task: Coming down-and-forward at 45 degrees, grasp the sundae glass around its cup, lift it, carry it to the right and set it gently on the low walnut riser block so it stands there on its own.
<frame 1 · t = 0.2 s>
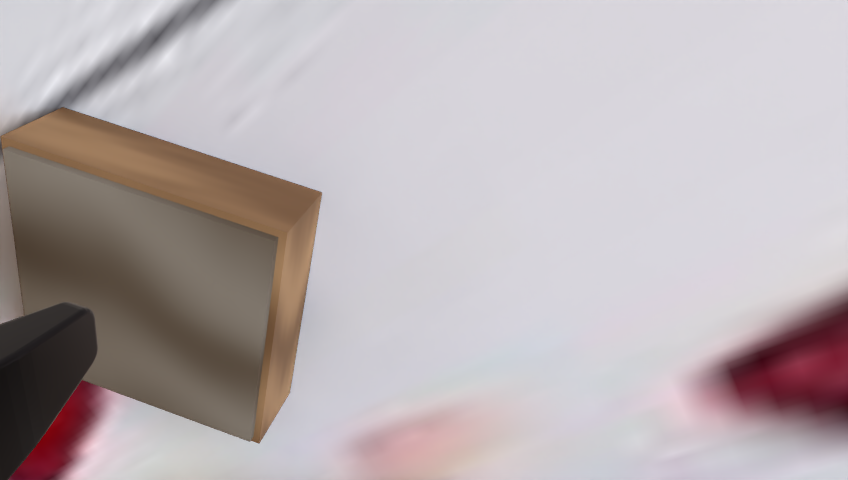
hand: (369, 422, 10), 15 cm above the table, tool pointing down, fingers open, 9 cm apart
walnut riser: (185, 262, 29), on the table
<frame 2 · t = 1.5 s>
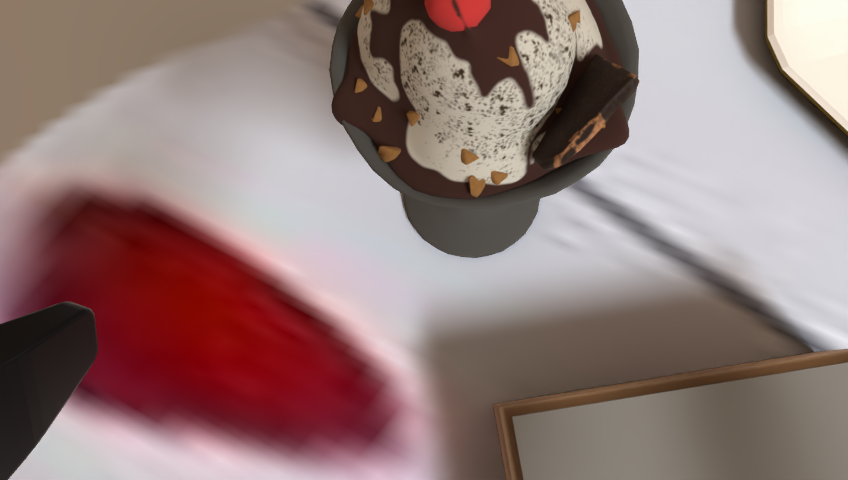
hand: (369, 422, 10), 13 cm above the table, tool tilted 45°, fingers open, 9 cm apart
sundae: (469, 192, 25), on the table
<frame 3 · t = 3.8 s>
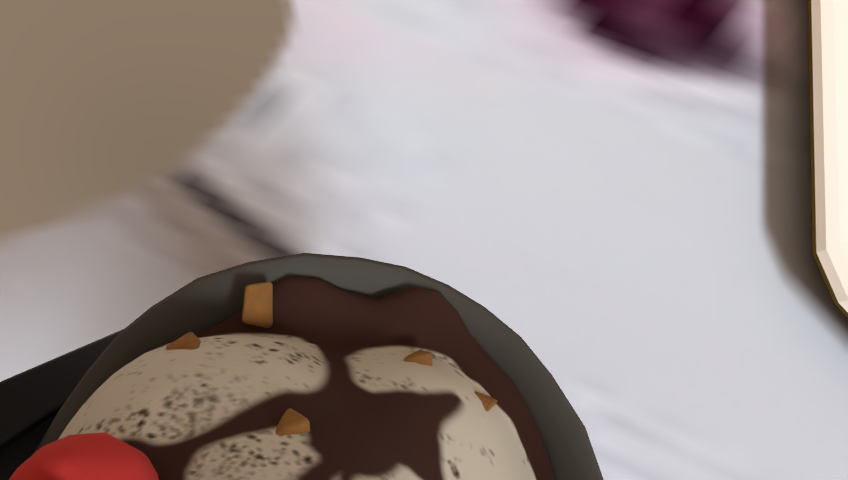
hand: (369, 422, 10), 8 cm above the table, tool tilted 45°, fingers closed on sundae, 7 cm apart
sundae: (387, 463, 17), on the table, touching gripper
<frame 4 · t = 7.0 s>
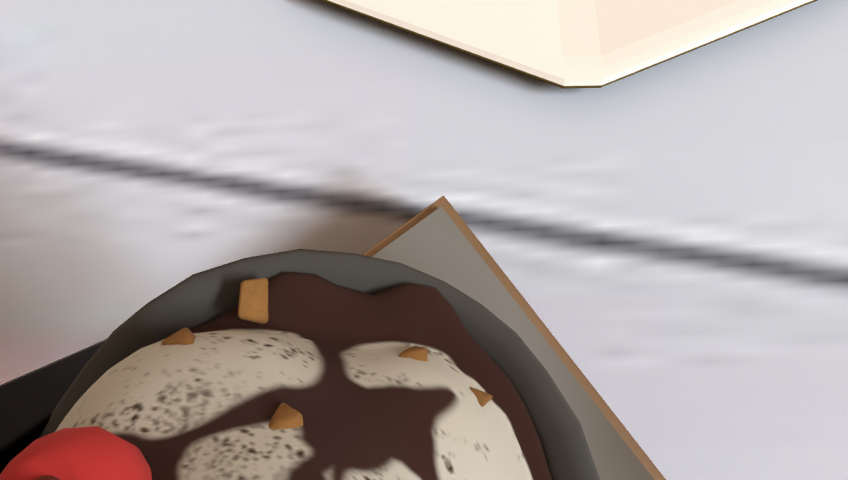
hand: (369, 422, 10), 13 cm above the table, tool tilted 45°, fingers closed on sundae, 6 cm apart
walnut riser: (412, 444, 22), on the table
sundae: (387, 461, 17), point 5 cm above the table, touching gripper
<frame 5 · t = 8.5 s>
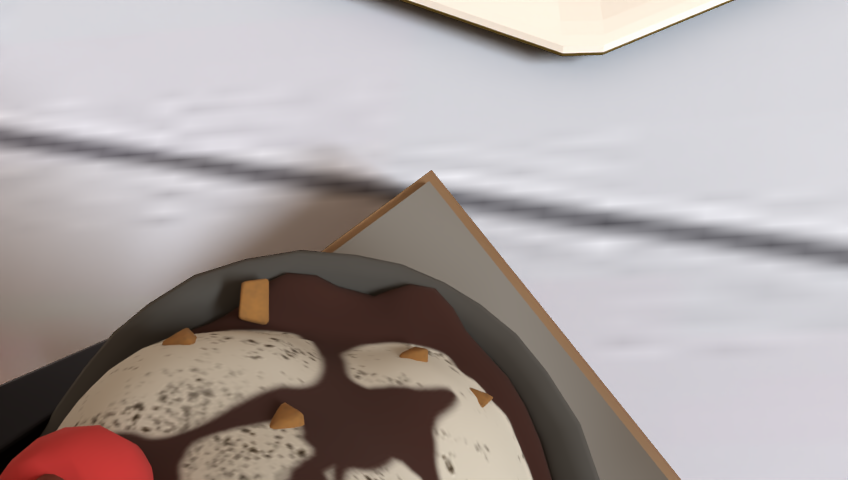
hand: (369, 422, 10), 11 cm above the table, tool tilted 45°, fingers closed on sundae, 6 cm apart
walnut riser: (400, 445, 20), on the table
sundae: (386, 465, 17), point 3 cm above the table, touching gripper, walnut riser
when the fingers open (11 cm above the table, at t = 9.7 s): sundae stays where it is, resting on walnut riser.
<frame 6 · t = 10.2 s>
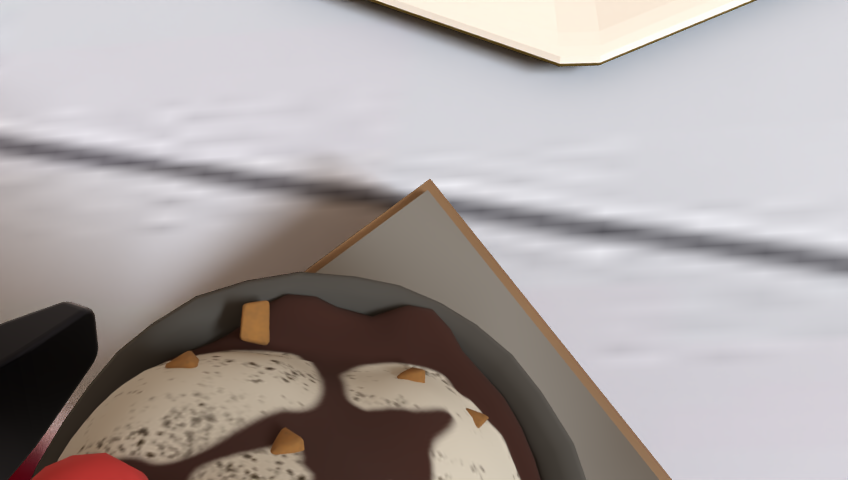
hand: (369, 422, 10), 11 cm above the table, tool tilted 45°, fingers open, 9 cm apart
walnut riser: (399, 451, 21), on the table
sundae: (385, 470, 17), point 3 cm above the table, touching walnut riser
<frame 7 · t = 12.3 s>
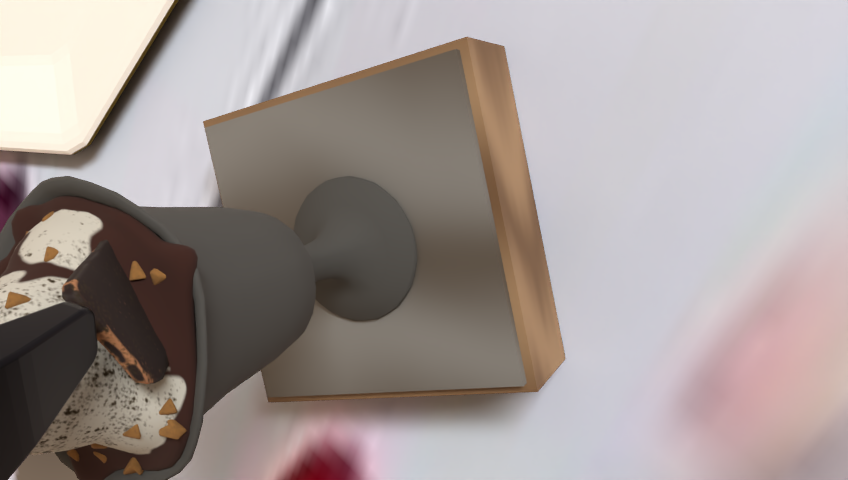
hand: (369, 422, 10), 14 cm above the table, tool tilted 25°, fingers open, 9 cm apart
walnut riser: (399, 229, 26), on the table
sundae: (356, 249, 23), point 3 cm above the table, touching walnut riser
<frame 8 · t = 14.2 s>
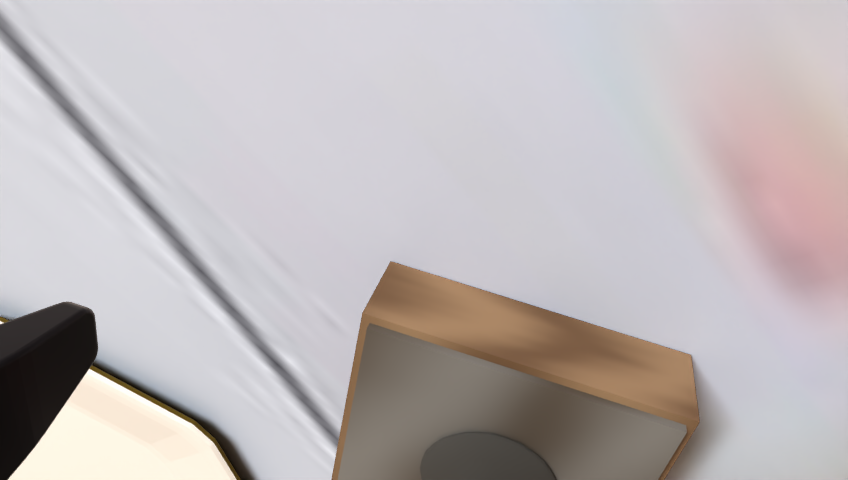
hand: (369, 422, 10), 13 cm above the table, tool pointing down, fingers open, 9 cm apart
walnut riser: (498, 411, 27), on the table
sundae: (490, 477, 24), point 3 cm above the table, touching walnut riser
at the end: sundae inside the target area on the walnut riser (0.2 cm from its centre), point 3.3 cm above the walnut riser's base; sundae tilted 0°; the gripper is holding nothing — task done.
